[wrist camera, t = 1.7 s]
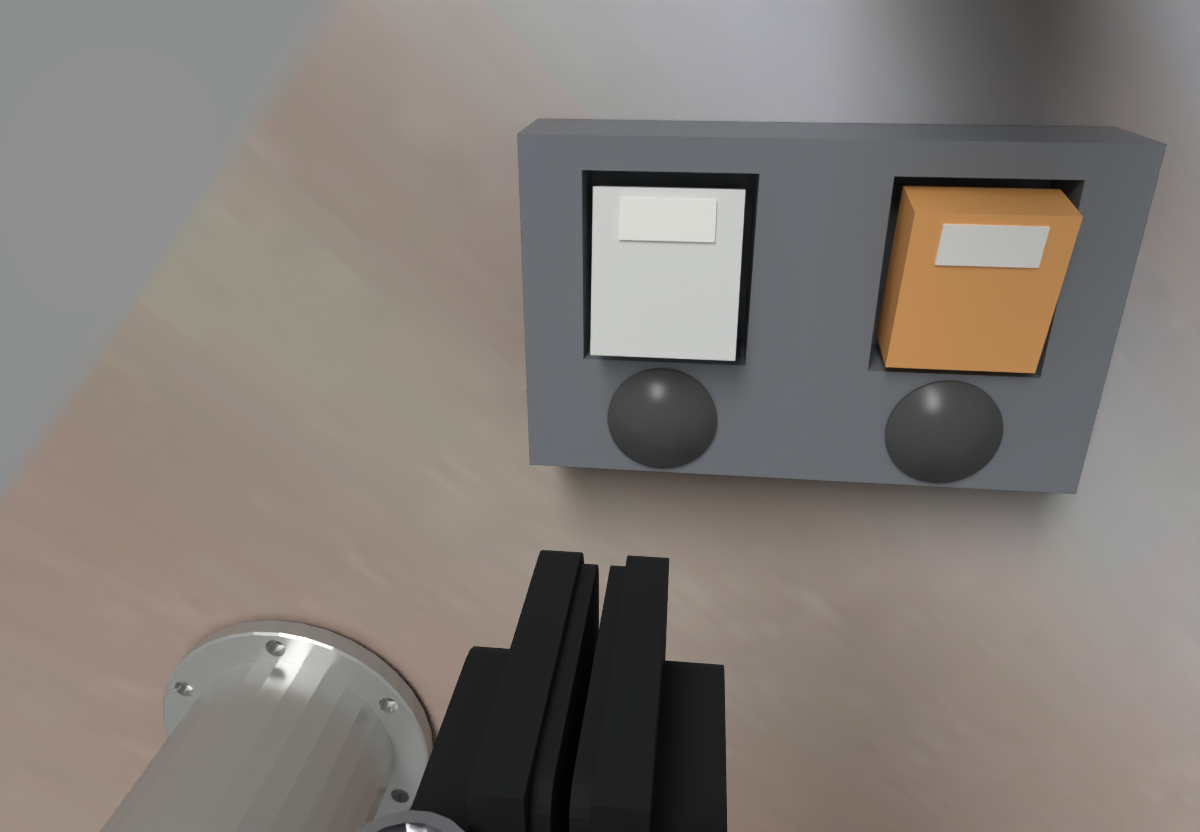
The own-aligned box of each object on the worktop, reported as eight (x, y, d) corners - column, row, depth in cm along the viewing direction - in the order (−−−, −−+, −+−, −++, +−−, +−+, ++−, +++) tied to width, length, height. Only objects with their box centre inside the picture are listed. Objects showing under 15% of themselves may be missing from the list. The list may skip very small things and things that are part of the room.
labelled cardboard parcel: (1017, 339, 29) (1035, 374, 27) (876, 334, 29) (885, 368, 28) (1060, 189, 26) (1084, 218, 24) (903, 186, 26) (915, 213, 25)
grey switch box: (1040, 445, 32) (1077, 496, 29) (546, 421, 34) (529, 466, 31) (1114, 126, 28) (1169, 145, 24) (537, 118, 30) (516, 134, 26)
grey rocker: (733, 348, 29) (735, 361, 27) (597, 343, 29) (589, 355, 27) (742, 188, 28) (745, 189, 26) (600, 185, 28) (592, 186, 26)
